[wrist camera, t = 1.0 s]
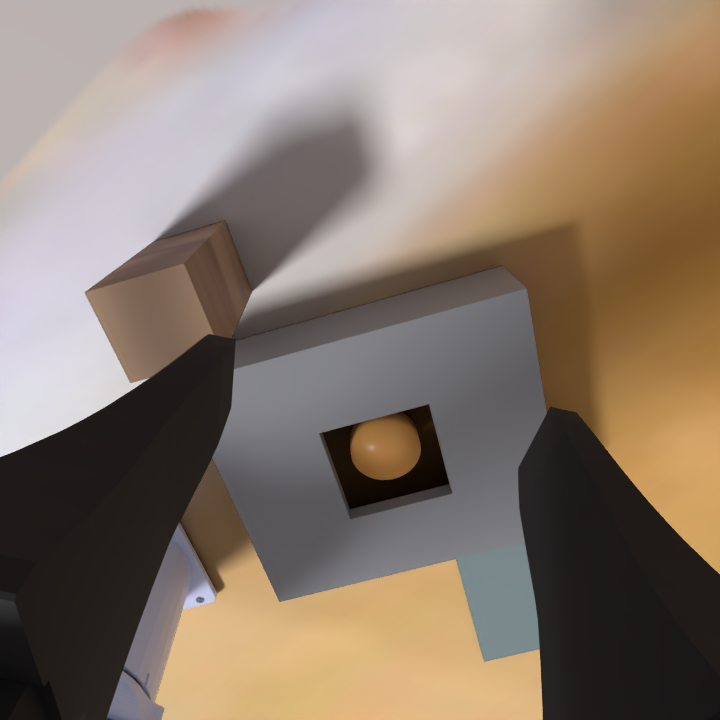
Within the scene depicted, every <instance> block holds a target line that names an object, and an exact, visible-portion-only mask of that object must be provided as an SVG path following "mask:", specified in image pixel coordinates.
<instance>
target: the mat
mask: <svg viewBox="0 0 720 720" xmlns="http://www.w3.org/2000/svg"><path fill="white" fill-rule="evenodd" d="M456 561H457V564H458V568H459V572H460V575H461V579H462V583H463V586H464V590H465V594H466V597H467V601H468V605H469V608H470V612H471V616H472V619H473V623H474V626H475V630H476V634H477V637H478V641H479V645H480V648H481V652H482V656H483V659H484V662H485V661H490V660H494V659H499V658H503V657H507V656H512V655H516V654H520V653H525V652H529V651H533V650H538V649H540V646H539V631H538V618H537V611H536V603H535V597H534V591H533V585H532V580H531V574H530V569H529V563H528V557H527V552H526V546H525V542H523V543H519V544H515V545H511V546H507V547H503V548H499V549H494V550H490V551H486V552H482V553H478V554H474V555H470V556H466V557H462V558H458V559H456Z"/></svg>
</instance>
